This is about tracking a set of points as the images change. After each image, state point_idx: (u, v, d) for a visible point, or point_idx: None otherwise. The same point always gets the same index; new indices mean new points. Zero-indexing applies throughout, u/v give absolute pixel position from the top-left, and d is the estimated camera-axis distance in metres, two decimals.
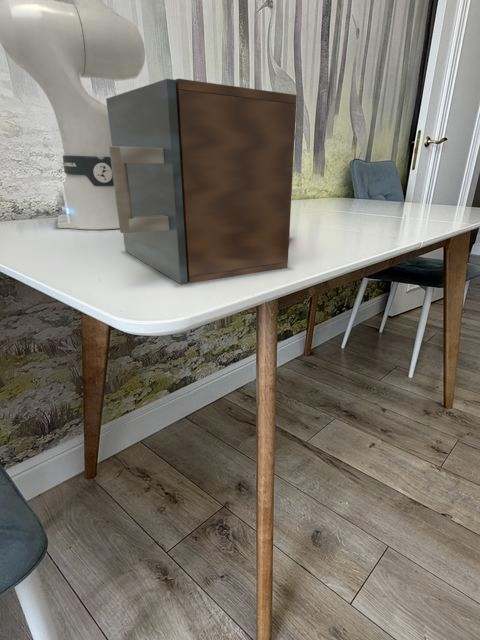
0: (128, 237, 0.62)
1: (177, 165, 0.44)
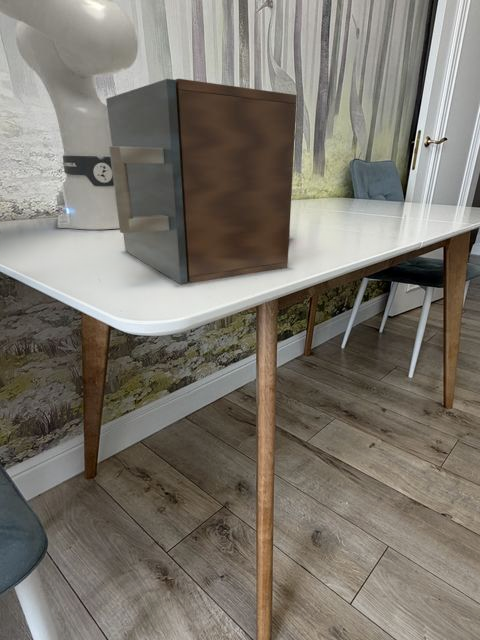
0: (128, 237, 0.62)
1: (177, 165, 0.44)
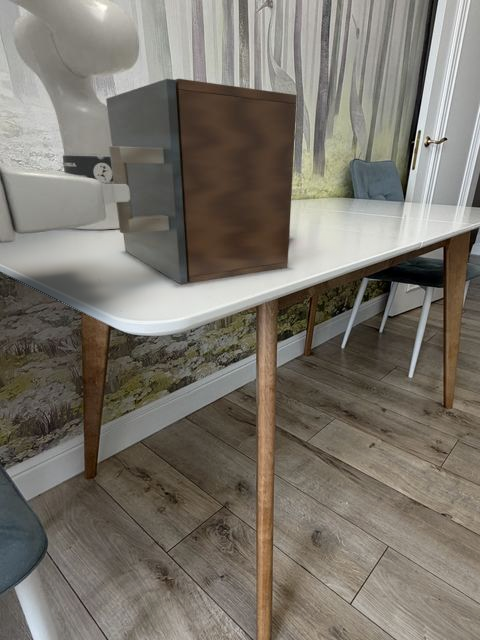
0: (128, 237, 0.62)
1: (177, 165, 0.44)
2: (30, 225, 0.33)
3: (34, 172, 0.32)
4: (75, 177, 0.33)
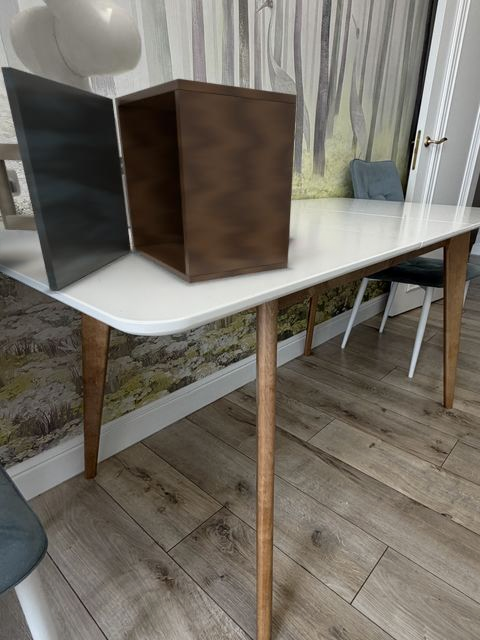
0: None
1: (26, 162, 0.40)
2: None
3: None
4: None
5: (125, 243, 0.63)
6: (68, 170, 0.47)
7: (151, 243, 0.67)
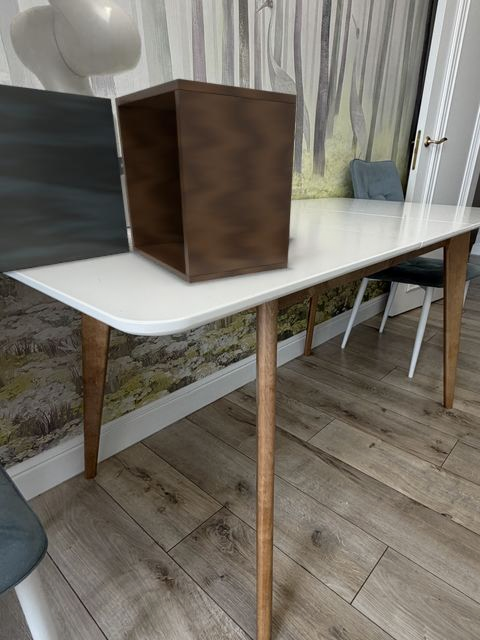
0: None
1: None
2: None
3: None
4: None
5: (118, 242, 0.64)
6: (12, 167, 0.50)
7: (151, 243, 0.67)
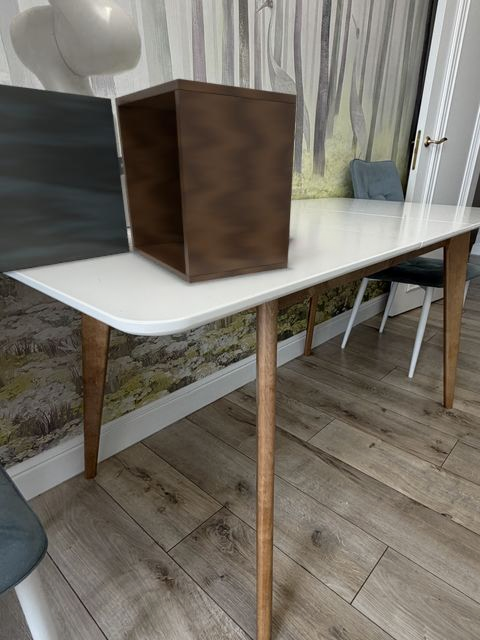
0: None
1: None
2: None
3: None
4: None
5: (118, 242, 0.64)
6: (12, 167, 0.50)
7: (151, 243, 0.67)
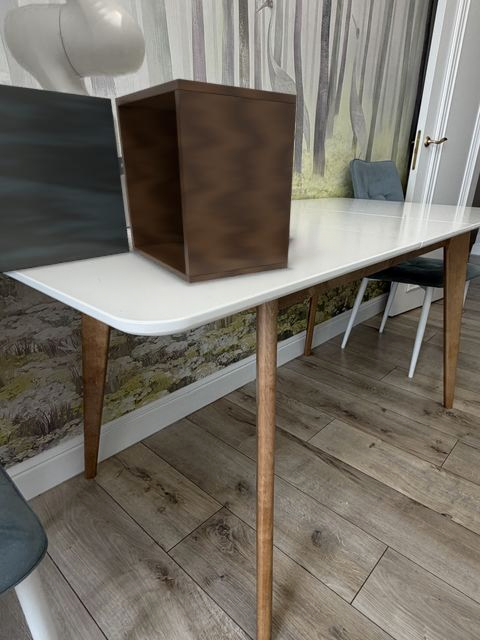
0: None
1: None
2: None
3: None
4: None
5: (118, 242, 0.64)
6: (12, 167, 0.50)
7: (151, 243, 0.67)
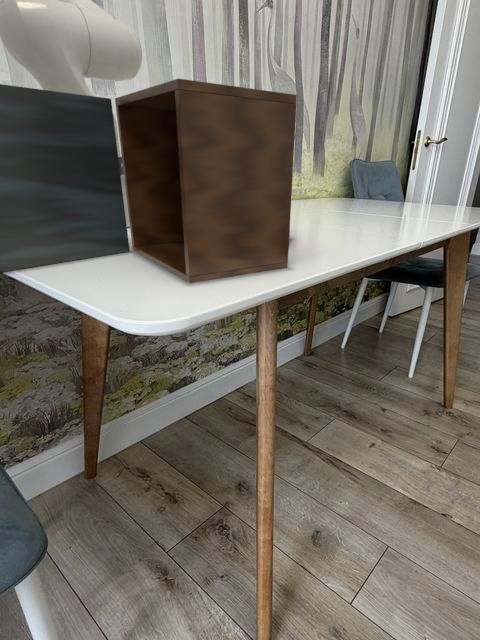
0: None
1: None
2: None
3: None
4: None
5: (118, 242, 0.64)
6: (12, 167, 0.50)
7: (151, 243, 0.67)
